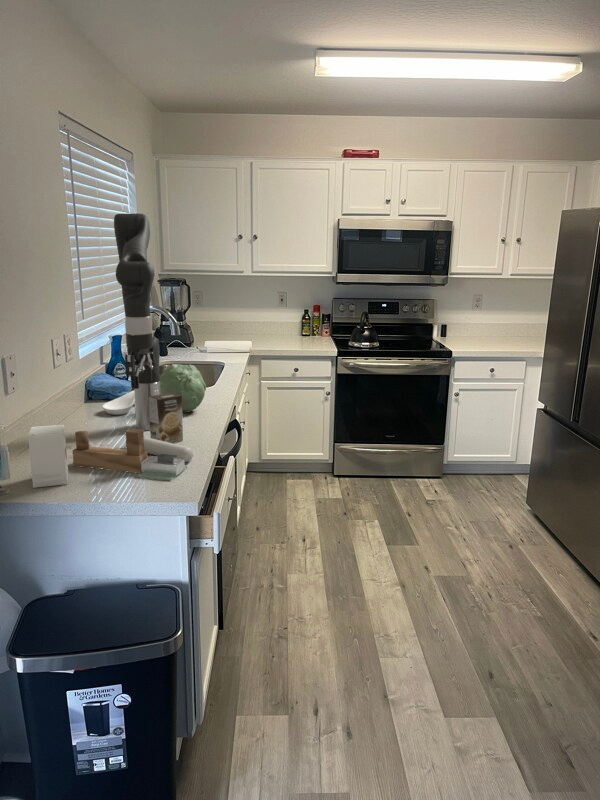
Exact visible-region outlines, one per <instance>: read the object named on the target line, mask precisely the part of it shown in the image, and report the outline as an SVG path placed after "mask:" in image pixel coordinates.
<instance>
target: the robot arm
mask: <svg viewBox="0 0 600 800" xmlns="http://www.w3.org/2000/svg"><path fill="white" fill-rule="evenodd" d="M150 229H151V226H150V221H149V219H148V216H147V215H146V214H144V213H140V212H139V213H117V214H115V215H114V217H113V230H114V235H115V236H114V237H115V242H116V248H117V254H118V255H117V256H118V260H119V261H118V263H117V265H116V269H115V277H116V278H115V279H116V281H117V283H118V284H119V285H121V293H122V300H123V301H122V302H123V308H124V316H125V319H124V328H125V329H124V330H125V341H126V342H125V345H126V349H127V354H125V356H124V363H125V364H124V365H125V369H124V370H125V375H126V376H129V377H130V388H131V389H134V390H133V391H134V394H135V402H134V411H135V425H136V426H135V427H136V428H135V429H140V430H143V431H150V408H149V396H153V395H160V394H161V391H160V375H161V374H160V373H161V372H160V371H161V370H160V342H159V339H158V337H156V336H153V324H152V318H151V308H150V307H151V301H152V300H151V299H152V298H151V292H152V288H153V284H154V279H155V268H154V266H153V264H152V263H150V262H149V261H148V256H147V255H148V254H147V253H148V248H149V243H150V239H151V230H150Z"/></svg>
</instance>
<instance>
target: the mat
mask: <svg viewBox="0 0 600 800" xmlns="http://www.w3.org/2000/svg"><path fill="white" fill-rule="evenodd" d="M185 468H186V469H187V468H188V465H185ZM181 473H182V472H180V473H179V475H180V474H181ZM137 477H138V478H139V479H151V480H159V481H168V482H171V481H172V479H173V480H174V479H175V478H176V477H177V476H176V475H167V474H157V473H148V472H142V473H139V474H138V475H137Z"/></svg>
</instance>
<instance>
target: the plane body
mask: <svg viewBox="0 0 600 800" xmlns="http://www.w3.org/2000/svg"><path fill="white" fill-rule="evenodd" d="M144 432H145V431H144V430H140V429H137V428H129V429H128V430H126V431H125V446H126V445H127V448H126V449H119V448H113V447H112V448H111V447H109V448H108V447H99V446H92V445H90V439H89V431H88V430H78V431H75V432H74V437H75V446H76V447H75V448H74V449H72V461H73V462H72V464H73V467H78V466H82V467H81V468H87V467H93V468H92V469H96V468H103V469H102V470H106V469H109V470H108V471H115V470H116V472H125V471H128V472H127V473H134V472H136V474H137V473H138V474H141V473H143V472H141V462H142V461H143V460H145V459H146V458H148V457H149V456H148V453H147V452H145V450H144V437H145V436H144V435H145V434H144Z"/></svg>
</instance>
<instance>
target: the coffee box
mask: <svg viewBox="0 0 600 800" xmlns="http://www.w3.org/2000/svg"><path fill="white" fill-rule="evenodd" d="M149 408H150V430H149V431H150V434H149V435H150V438H151V439H156V440H160V441H164V442H169V443H173V444H176V443H180V442H183V441H184V433H183V431H184V429H183V427H184V426H183V413H182V396H181V395H179V394H174V393H167V394H160V395H153V396H149ZM175 442H176V443H175Z"/></svg>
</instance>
